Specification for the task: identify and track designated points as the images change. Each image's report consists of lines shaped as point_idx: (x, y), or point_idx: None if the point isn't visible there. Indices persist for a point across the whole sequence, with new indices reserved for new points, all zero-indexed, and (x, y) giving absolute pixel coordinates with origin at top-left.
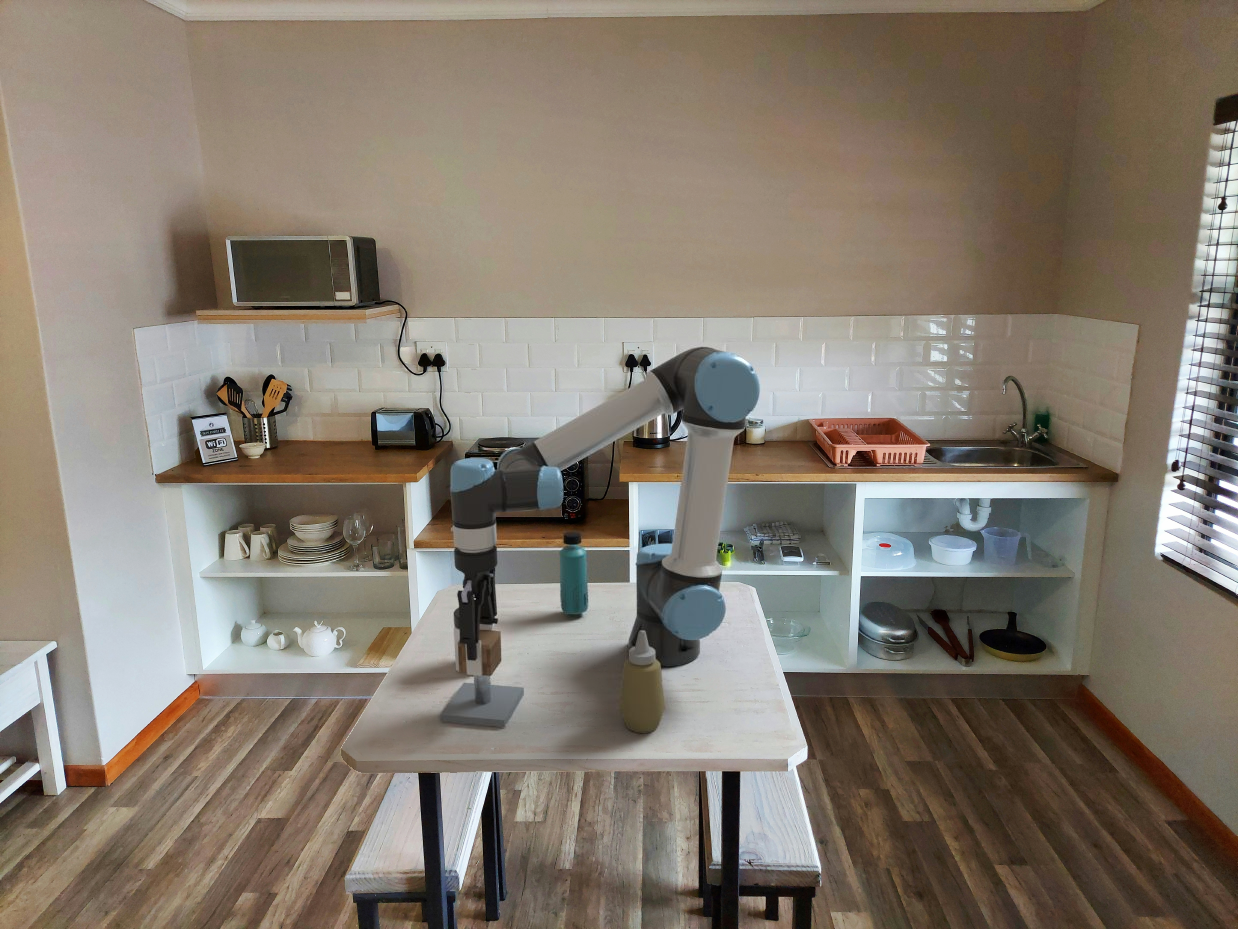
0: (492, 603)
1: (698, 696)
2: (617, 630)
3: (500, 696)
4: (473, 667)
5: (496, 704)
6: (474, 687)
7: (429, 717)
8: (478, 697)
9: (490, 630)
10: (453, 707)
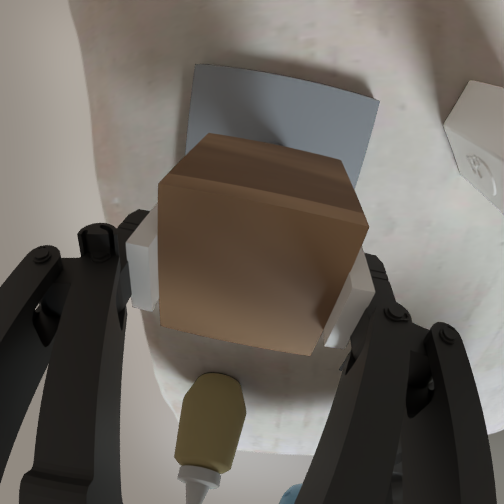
0: (406, 435)
1: (290, 423)
2: (499, 360)
3: None
4: None
5: None
6: None
7: (224, 30)
8: None
9: (323, 324)
10: (232, 90)
